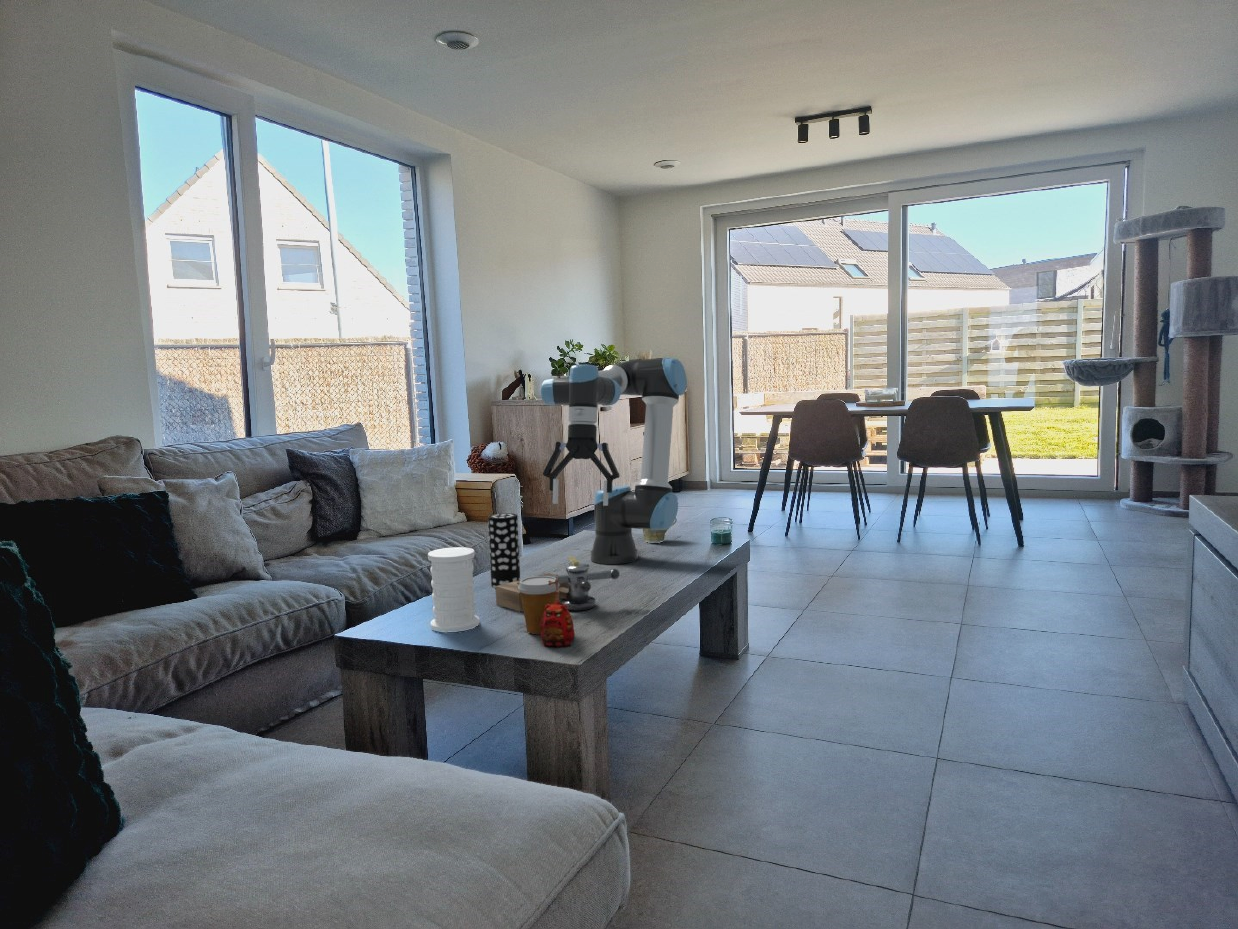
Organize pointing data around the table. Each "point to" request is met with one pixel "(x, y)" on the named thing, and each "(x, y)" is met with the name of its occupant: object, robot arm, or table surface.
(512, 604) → the walnut stand
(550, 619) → the red clay folk toy
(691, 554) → the table surface
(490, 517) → the spotted tube
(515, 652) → the table surface
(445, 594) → the decorative container
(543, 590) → the disposable coffee cup
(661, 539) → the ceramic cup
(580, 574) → the capstan
